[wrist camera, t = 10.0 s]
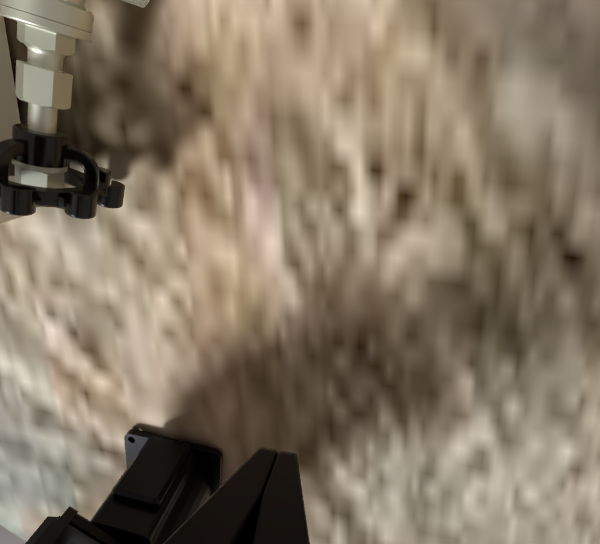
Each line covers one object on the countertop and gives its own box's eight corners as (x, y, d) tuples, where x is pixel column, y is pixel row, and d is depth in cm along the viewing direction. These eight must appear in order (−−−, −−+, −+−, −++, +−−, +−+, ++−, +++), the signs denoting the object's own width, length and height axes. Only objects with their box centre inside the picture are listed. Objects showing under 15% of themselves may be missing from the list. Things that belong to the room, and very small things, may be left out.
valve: (165, -89, 17) (129, 188, 22) (-24, -170, 15) (-22, 158, 19) (160, -164, 12) (112, 232, 16) (-145, -313, 9) (-105, 196, 14)
